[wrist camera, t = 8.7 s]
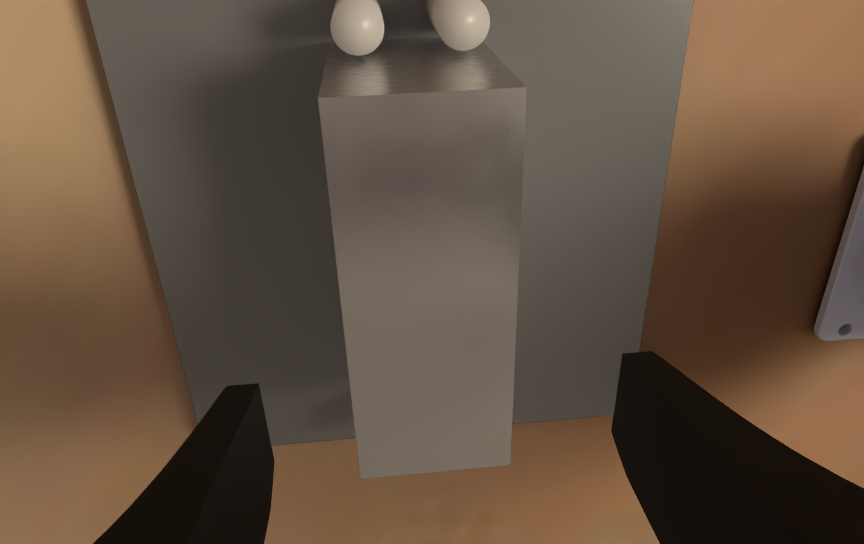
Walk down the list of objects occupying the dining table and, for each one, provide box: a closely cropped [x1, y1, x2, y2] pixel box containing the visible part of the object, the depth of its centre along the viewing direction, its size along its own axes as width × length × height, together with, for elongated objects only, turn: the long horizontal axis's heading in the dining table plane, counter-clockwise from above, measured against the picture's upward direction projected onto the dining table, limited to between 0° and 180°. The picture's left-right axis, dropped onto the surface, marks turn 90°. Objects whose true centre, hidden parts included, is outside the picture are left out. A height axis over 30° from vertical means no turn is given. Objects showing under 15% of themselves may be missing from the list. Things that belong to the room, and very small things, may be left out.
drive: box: [318, 37, 527, 479], centre depth 18 cm, size 4×10×6 cm, turn 2°
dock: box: [86, 0, 694, 446], centre depth 19 cm, size 16×17×4 cm
